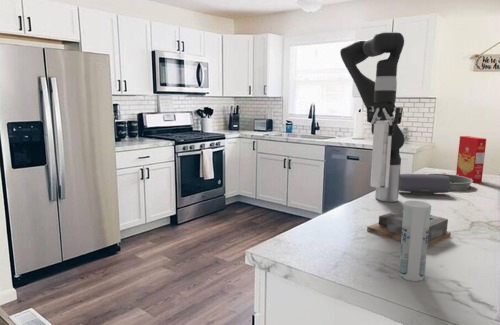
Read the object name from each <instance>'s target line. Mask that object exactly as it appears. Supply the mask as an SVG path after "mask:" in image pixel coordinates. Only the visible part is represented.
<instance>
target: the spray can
mask: <svg viewBox="0 0 500 325" xmlns="http://www.w3.org/2000/svg"><path fill="white" fill-rule="evenodd" d="M402 209H403V211H402V212H403V222H402V237H401V241H400V254H399V266H398V273H399V274H400V275H399V274H398V275H399V276H400V277H401V276H402V277H403V278H402V277H401V278H402V279H404V278H405V279H404V280H407V279H408V280H407V281H410V280H412V282H419V281H418V280H421V281H423V280H424V279H423V278H425V273H426V272H425V271H426V263H427V252H428V247H427V243H428V233H429V223H430V215H431V210H432V205H431V204H430V203H428V202H425V201H421V200H406V201H404V202H403V208H402ZM422 279H423V280H422Z"/></svg>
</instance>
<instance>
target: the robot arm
mask: <svg viewBox="0 0 500 325" xmlns="http://www.w3.org/2000/svg"><path fill="white" fill-rule="evenodd" d="M373 36H374V37H371V38H369V39H366V40H365V39H364V40H363V39H362V40H361V39H360V40H356V41H353V42H352V43H349V44H348V45H346V46H344V47H342V48H341V49H340V52H339V54H340V57H341V60H342V62H343V64H344V66H345V68H346V69H347V71H348V73H349V75H350V76H351V79H352V80H353V82H354V84H355V86H356V89H357V90H358V91H357V92H358V94H359V95H360V98H361V100H362V102H363V104H364V107H365V108H366V121H367V123H370V124H371V135H373V133H374V123H376V121H388V122H389V125H390V126H389V131H388V136H392V139H391V154H390V169H389V185H388V187H387V188H376V187H375V199H377V200H378V201H381V202H389V203H394V202H398V201H399V195H400V194H399V192H400V191H399V181H400V174H401V164H402V157H401V155H400V149H401V148H403V146H404V143H405V135H404V133H403V131H402V130H401V128H400V127H399V125H400V124H401V122H402V117H403V110H404V108H403V107H402V106H396V105H395V103H396V102H397V100H396V99H397V84H398V83H397V80H398V79H397V75H398V74H397V72H398V63H399V60H400V58H401V57H400V56H401V54H402V51H403V48H404V45H405V37H404V36H403V34H402V33H401V32H396V31H395V32H393V31H392V32H389V31H388V32H386V31H382V32H378V33H376V34H374V35H373ZM383 54H389V56H388V58H385V59H381V60H378V61H377V63H376V73H375V81H374V80H372V79H371V78H369V77H367V76H366V75H364V74H363V73H362V72H361V71H360V69H359V68H358V66H357V65H358V64H360V63H362V62H364V61H366V60H367V59H368V58H369V57H370V58H371V57H372V58H374V57H378V56H382V55H383Z"/></svg>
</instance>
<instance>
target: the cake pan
mask: <svg viewBox="0 0 500 325" xmlns="http://www.w3.org/2000/svg"><path fill="white" fill-rule="evenodd" d="M429 174H430V175H443V176H448V177H449V178H450V190H449V191H466V190H468V189H469V187H470V186H471V184H472V182H473V180H472V179H469V178H466V177H462V176H457V175H456V174H455V175H454V174H446V173H429ZM452 182H454V183H452ZM465 189H466V190H465Z"/></svg>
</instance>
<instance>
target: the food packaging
mask: <svg viewBox="0 0 500 325" xmlns="http://www.w3.org/2000/svg"><path fill="white" fill-rule="evenodd" d="M486 145H487V138H485V137H484V138H483V137H476V136H469V135H460V136H459V143H458V153H457V161H456V162H457V163H456V170H455V172H456V173H455V175H457V176H462V177H466V178H469V179H472V180H473V182H472V183H473V184H475V183H480V184H481V183H482V180H483V174H484V173H483V172H484V164H485V155H486V154H485V153H486V147H487V146H486ZM472 183H471V184H472Z"/></svg>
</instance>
